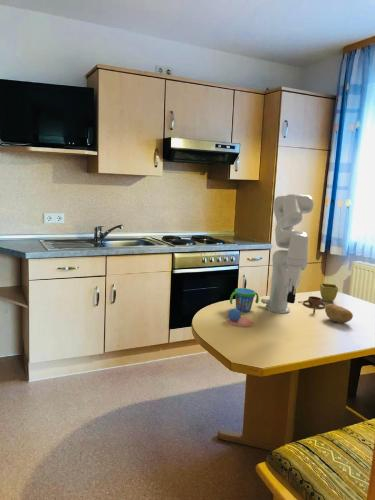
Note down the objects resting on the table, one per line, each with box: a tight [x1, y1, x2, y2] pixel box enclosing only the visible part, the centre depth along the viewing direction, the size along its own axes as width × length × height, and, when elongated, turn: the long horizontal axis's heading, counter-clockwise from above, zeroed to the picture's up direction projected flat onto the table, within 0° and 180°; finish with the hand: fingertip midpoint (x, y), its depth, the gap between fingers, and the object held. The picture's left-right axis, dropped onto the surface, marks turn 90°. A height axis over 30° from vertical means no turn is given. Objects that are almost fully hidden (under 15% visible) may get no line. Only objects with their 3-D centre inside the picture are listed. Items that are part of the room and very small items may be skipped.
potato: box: [324, 303, 354, 324], centre depth 202 cm, size 10×14×8 cm
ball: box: [227, 308, 242, 322], centre depth 192 cm, size 6×6×6 cm
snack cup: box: [229, 287, 260, 313], centre depth 209 cm, size 16×10×10 cm
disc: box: [225, 316, 255, 328], centre depth 193 cm, size 13×13×1 cm
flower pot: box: [319, 282, 339, 303], centre depth 238 cm, size 9×9×9 cm
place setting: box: [297, 295, 326, 314], centre depth 224 cm, size 18×20×6 cm
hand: (290, 302), depth 181 cm, fingers closed
